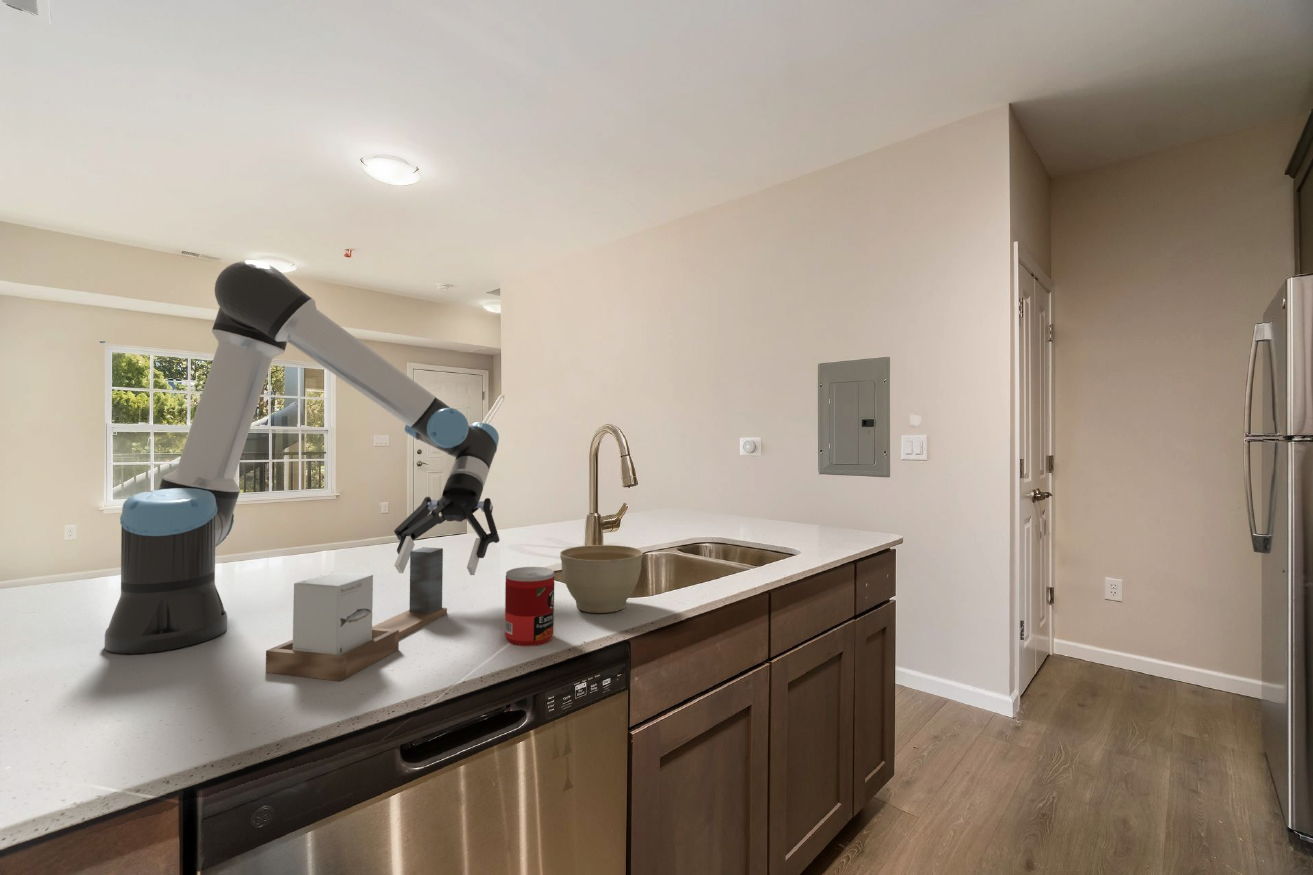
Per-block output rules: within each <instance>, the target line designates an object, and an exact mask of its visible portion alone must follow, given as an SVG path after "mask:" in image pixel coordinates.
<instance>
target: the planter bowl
mask: <svg viewBox="0 0 1313 875" xmlns="http://www.w3.org/2000/svg"><path fill="white" fill-rule="evenodd" d="M559 555H560V556H559V557H560V561H561V571H562V577H563V580H564V583H565V585H566V588H567V590H568V592H569V593H570V596H571V597H572V598H573V599H574V601H575V604H576V608H577V609H578V610H580V611H582V612H585V613H590V614H592V613H597V614H603V613H604V614H605V613H615V612H617V611H620V610H623V609H624V608H625V607H626V605H627V600H628V599H629V598H630V596H631V595H632V594H633V592H634V590H635V588H636V586H637V583H638V582H639V579H640V575H641V570H642V560H643V557H644V552H643V550H641V549H640V548H637V547H631V546H626V545H613V544H612V545H611V544H608V545H607V544H605V545H604V544H599V545H597V544H594V545H581V546H579V545H578V546H574V547H568V548H565V549H563V550H561V551H560V554H559Z"/></svg>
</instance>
